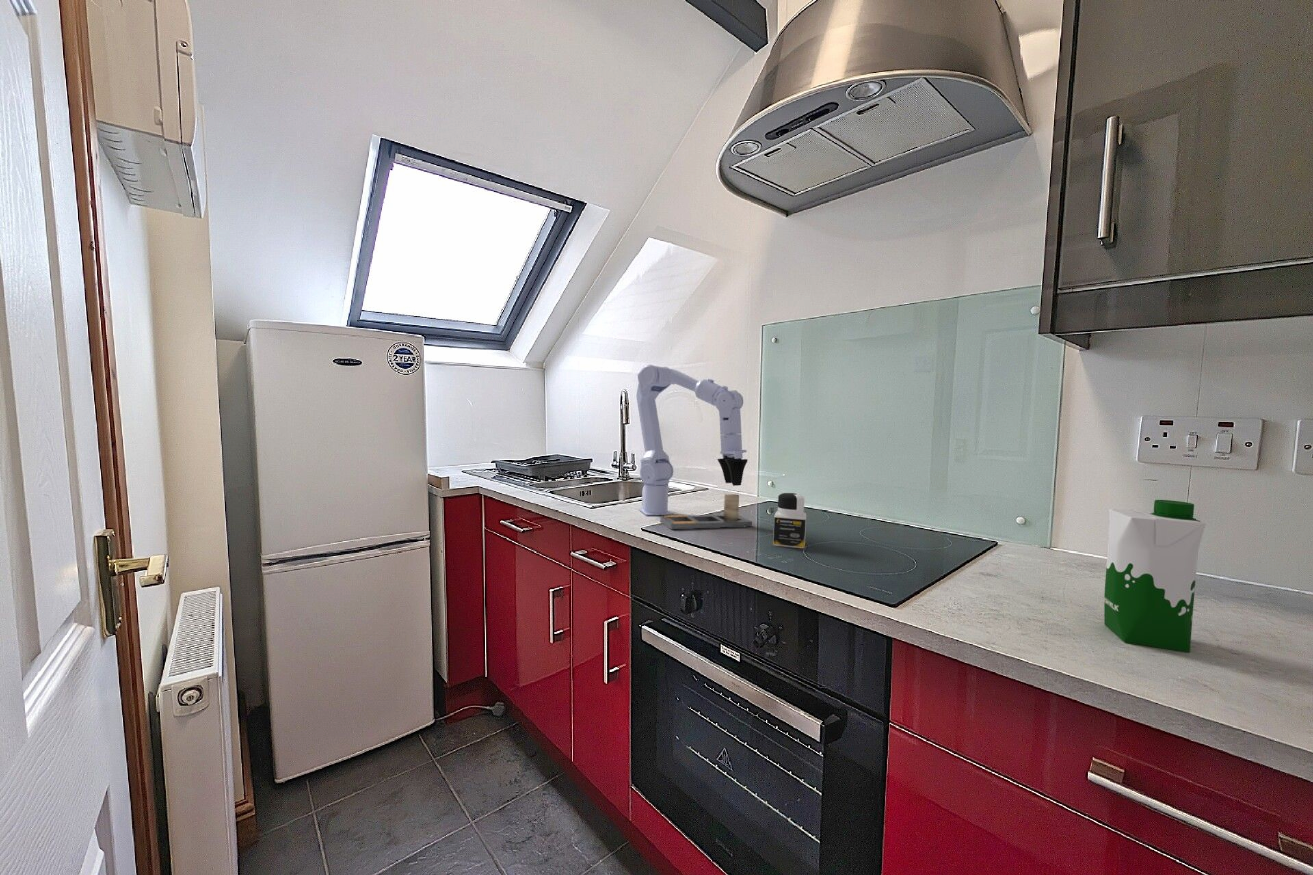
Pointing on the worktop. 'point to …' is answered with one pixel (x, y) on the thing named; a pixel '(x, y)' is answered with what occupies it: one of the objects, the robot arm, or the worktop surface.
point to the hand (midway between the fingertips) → (733, 484)
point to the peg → (731, 507)
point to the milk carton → (1152, 574)
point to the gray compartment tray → (702, 521)
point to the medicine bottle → (790, 521)
